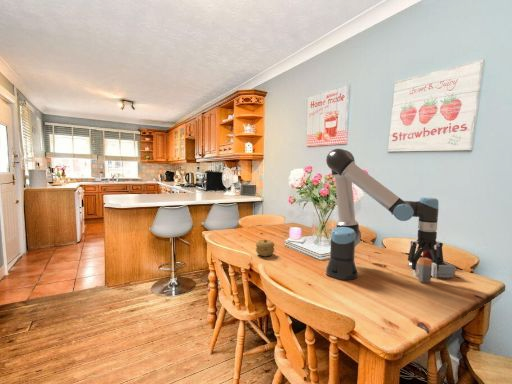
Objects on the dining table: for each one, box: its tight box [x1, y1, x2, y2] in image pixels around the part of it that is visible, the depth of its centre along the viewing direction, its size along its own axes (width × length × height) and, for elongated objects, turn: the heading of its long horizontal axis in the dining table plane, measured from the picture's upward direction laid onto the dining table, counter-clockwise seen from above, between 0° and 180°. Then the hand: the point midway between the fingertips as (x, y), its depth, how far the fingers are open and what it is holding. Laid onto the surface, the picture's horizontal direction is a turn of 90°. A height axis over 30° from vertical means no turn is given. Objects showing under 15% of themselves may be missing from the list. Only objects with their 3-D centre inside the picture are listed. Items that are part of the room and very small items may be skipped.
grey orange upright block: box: [417, 257, 432, 284], centre depth 123 cm, size 4×4×11 cm
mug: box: [421, 245, 437, 260], centre depth 145 cm, size 11×8×10 cm
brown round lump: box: [255, 238, 275, 257], centre depth 160 cm, size 12×12×10 cm
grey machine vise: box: [407, 260, 457, 280], centre depth 132 cm, size 21×12×6 cm, turn 86°
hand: (424, 276), depth 123 cm, fingers open, 8 cm apart
